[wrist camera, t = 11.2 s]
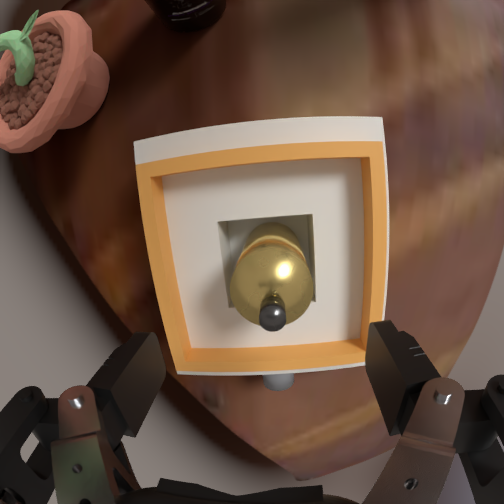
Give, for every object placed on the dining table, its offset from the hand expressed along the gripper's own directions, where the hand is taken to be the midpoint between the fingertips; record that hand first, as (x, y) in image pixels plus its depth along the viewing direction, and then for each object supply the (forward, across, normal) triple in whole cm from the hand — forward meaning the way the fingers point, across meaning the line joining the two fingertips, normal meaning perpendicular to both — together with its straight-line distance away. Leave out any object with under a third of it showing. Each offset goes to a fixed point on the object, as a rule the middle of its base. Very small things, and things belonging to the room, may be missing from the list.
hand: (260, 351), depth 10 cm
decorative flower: (+17, +19, -19) cm, 32 cm away
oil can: (+15, 0, 0) cm, 15 cm away
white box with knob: (+17, 0, +2) cm, 17 cm away
